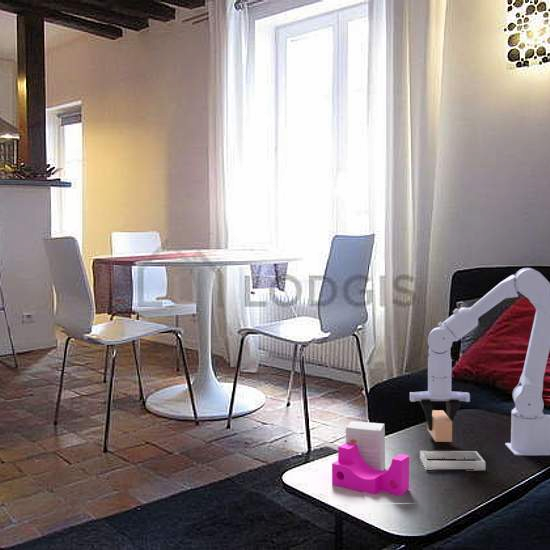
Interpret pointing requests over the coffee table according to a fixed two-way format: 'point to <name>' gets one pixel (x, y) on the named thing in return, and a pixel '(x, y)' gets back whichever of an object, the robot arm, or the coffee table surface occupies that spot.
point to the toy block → (369, 472)
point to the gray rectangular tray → (431, 465)
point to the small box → (368, 442)
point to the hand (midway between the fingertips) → (439, 429)
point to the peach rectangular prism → (441, 426)
